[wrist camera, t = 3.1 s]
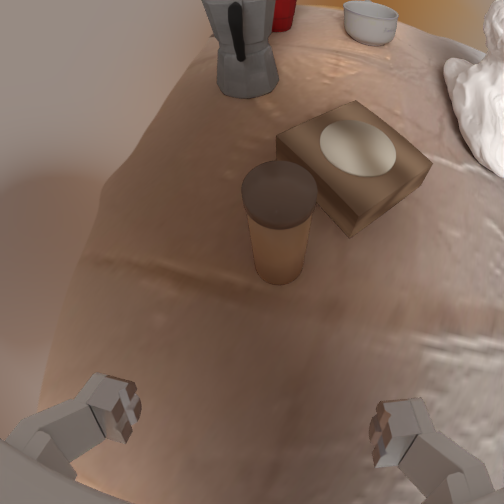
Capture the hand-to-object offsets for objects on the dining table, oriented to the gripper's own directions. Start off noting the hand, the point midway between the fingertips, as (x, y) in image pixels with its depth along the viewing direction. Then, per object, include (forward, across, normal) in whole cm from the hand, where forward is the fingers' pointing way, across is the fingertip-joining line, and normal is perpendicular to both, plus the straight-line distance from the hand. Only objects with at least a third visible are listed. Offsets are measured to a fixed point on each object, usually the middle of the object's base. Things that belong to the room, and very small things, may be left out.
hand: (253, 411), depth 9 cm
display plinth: (+28, -8, -6) cm, 29 cm away
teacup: (+56, -17, -33) cm, 67 cm away
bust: (+38, -35, -16) cm, 54 cm away
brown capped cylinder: (+20, 0, +2) cm, 20 cm away
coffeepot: (+39, +5, -17) cm, 43 cm away
